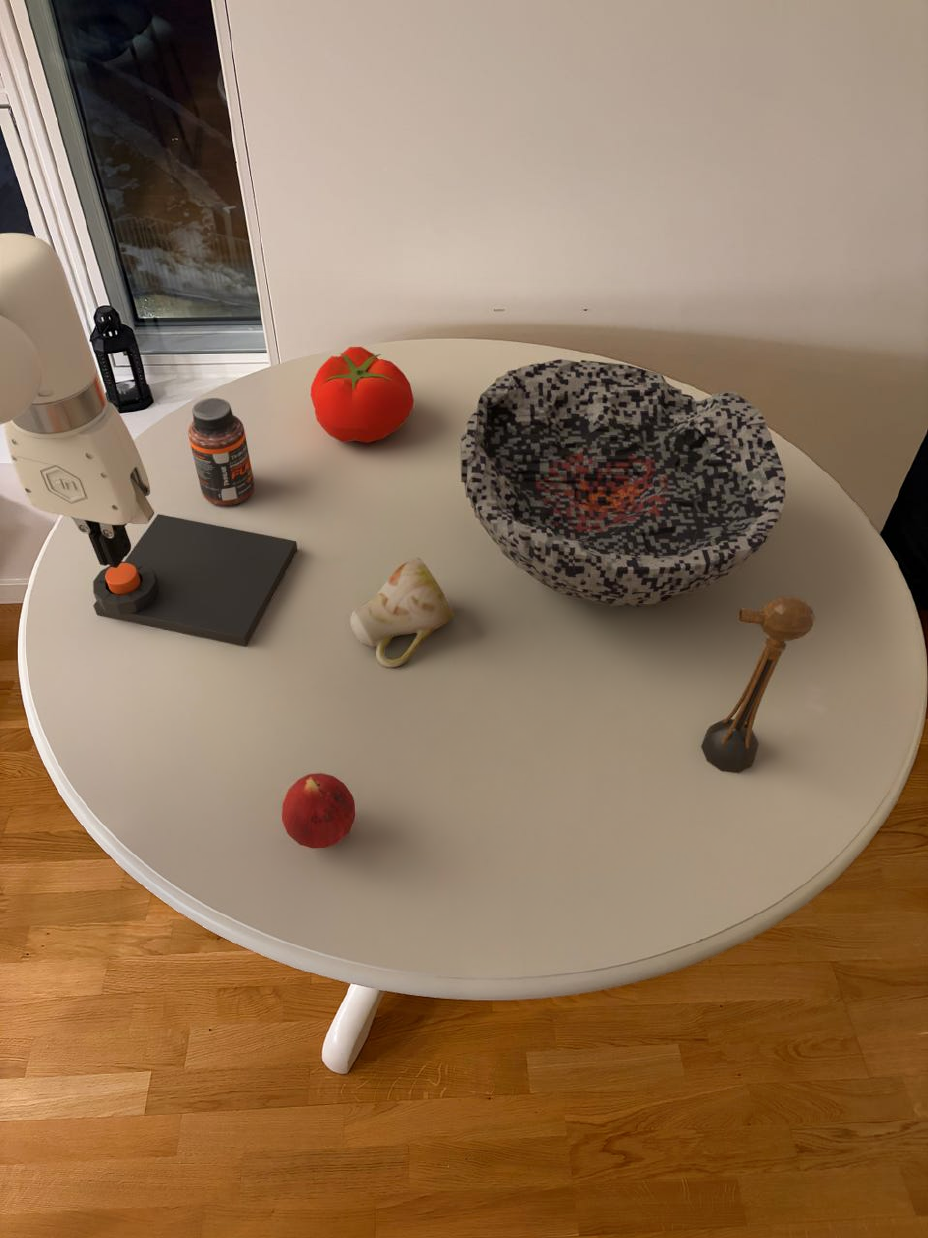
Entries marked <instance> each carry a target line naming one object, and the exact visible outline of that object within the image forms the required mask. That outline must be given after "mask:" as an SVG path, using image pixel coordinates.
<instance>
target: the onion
mask: <svg viewBox="0 0 928 1238" xmlns="http://www.w3.org/2000/svg"><path fill="white" fill-rule="evenodd" d="M281 806H282V807H281V822H282V824H283V827H284V829H285V832H286V834H287V835H288V836H289V837H290V838H291V839H292V840H293V841H294V842H296V843H297V844H298V845H300V846H303V847H305V848H309V849H311V850H313V849H314V850H316V849H317V850H318V849H327V848H330V847H332V846H334V845H337V844H338V843H340V842H341V841H342V840H343V839H345V837H347V836H348V835H349V834H350V832H351V831H352V827H353V825H354V824H355V820H356V814H357V813H356V802H355V798H354V796H353V794H352V792H351V791H350V790H349V788H348V787H347V785H346V784H345V783H344V782H343V781H342V780H340V779H338V778H337V777H336V776H334V775H332V774H328V773H322V772H318V773H317V772H316V773H309V774H307V775H305V776H303V777H301V778H299V779H297V780H296V781H295V782H294V783H293V784H292V785H291V786H290V787H289V788H288V790H287V792H286V794H285V797H284V799H283V801H282V805H281Z"/></svg>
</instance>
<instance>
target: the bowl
mask: <svg viewBox="0 0 928 1238" xmlns="http://www.w3.org/2000/svg"><path fill="white" fill-rule="evenodd" d="M477 402H478V403H477V408H476V411H475V412H473V413H472V414H471V415H470V417H469V419H468V421H467V423H466V426H465V427H466V428H465V433H461V434H460V480H461V481H460V482H461V483H464V490H465V492H464V493H465V498H469V500H470V507H471V508H472V509H473V513H474V517H475V518H476V519H478V520H479V524H480V525H481V526H482V527H483V528H484V529H485V531H486V533H487V534H488V536H489V537H490V538H491V540H492V542H494V543H495V544H496V545H497V546H498V548H499V550H500V551H501V553H502V554H503V555H504V556H505V557H507V559H509V560H510V561H511V562H512V563H513V564H514V565H515V566H516V567H517V568H518V569H521V570H523V571H525V572H526V573H527V574H528V575H529V576H531V578H533V579H535V580H536V581H538V582H540V583H541V584H542V585H544V586H547V587H549V588H550V589H552V590H554V592H558V593H561V595H565V596H570V597H571V596H572V597H576V598H580V599H585V600H588V601H594V602H598V603H602V604H603V603H604V604H609V605H610V607H615V606H629V607H630V606H631V607H641V605H656V604H657V603H659V602H666V601H668V600H671V599H676V598H678V597H681V596H682V595H686V594H691V593H696V592H697V591H698V590H702V589H704V588H705V587H708V586H710V585H711V584H712V583H714V582H717V581H718V580H719V579H722V578H723V577H725V576H728V575H729V574H730V573H731V572H733V571H735V570H736V569H739V567H740V566H741V565H743V563H744V562H745V561H746V560H747V559H748V558H749V557H750V556H752V555H753V554H755V553H756V552H757V551H759V549H760V548H761V547H762V546H763V545H764V544H765V543H766V542H767V539H768V537H769V535H770V534H771V532H772V530H773V528H774V526H775V524H776V523H778V522H779V521H780V520H781V518H782V517H781V516H782V512H783V509H784V507H785V505H784V499H786V498H787V496H786V489H785V485H786V478H787V477H786V476H787V475H786V474H785V470H784V466H783V464H782V461H781V458H780V456H779V453H778V449H777V446H776V445H775V443H774V442H773V438H772V434H771V431H770V430H769V429H768V427H767V426H766V420H765V418H764V416H763V414H762V412H761V410H760V409H758V408H757V407H755V406H753V404H752V403H751V402H749V400H748V399H745V398H743V397H741V396H740V394H739V393H738V392H737V391H733V390H732V391H726V392H723V393H714V392H712V395H711V396H709V397H706V398H704V399H702V400H696V399H695V398H694V397H693V395H689V394H685V393H683V391H682V389H681V388H677V387H674V386H673V385H672V384H670V383H669V382H667V381H666V379H665V377H664V375H663V374H662V373H660V372H655V371H652V370H648V369H644V368H640V367H636V366H633V365H629V364H622V363H613V362H605V361H596V360H595V361H594V360H585V359H581V360H580V361H575V360H569V359H563V358H562V359H561V358H560V359H554V360H549V361H545V362H543V363H532V364H529V365H524V366H519V368H517V369H511V370H508V371H506V373H504V374H503V375H502V376H499V377H496V379H495V380H494V382H493V383H492V384H490V386H489V387H487V389H486V390H485V391H483V392H482V393H481V394H480V396H479V399H478V401H477Z"/></svg>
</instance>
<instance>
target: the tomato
mask: <svg viewBox="0 0 928 1238" xmlns="http://www.w3.org/2000/svg"><path fill="white" fill-rule="evenodd" d="M381 355H382V353H379V354H375V353H374V352H371V351H369V350H367V349H366V348H364V347H362V346H349V347H348V348H347V349H346V350H345V351H343V352H340V355H339V356H338V355H335V356H334V355H333V356H332V355H331V356H330V357H329V358H328V359H327V360H326V361H325V362H323V364H322V365H321V366H320V367H319V368H318V370H317V372H316V374H315V377H314V379H313V381H312V383H311V386H310V398H311V401H312V405H313V408H314V414H315V417H316V422H318V424H319V425H320V427H321V429H323V430H324V431H325V433H326V434H328V435H329V436H330V437H332V438H334V439H336V440H337V441H340V442H342V443H347V442H352V441H357V442H360V443H361V442H362V443H372V442H375V441H380V440H383V438H385V437H388V435H391V434H392V433H394V432H396V431H397V430H398V429H399V428H400V427H401V426H402V425H404V423H406V421H407V419H408V418H409V416H410V415H411V413H412V411H413V408H414V401H415V400H414V399H415V398H414V395H413V390H412V386H411V382H410V381H409V379H408V378H407V377H406V374H405V373H404V372H402V370H401V369H400V367H398V366H397V365H396V364H395V363H393V362H392V361H391V360H387V359H383V358H378V357H379V356H381Z"/></svg>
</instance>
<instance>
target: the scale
mask: <svg viewBox="0 0 928 1238" xmlns="http://www.w3.org/2000/svg"><path fill="white" fill-rule="evenodd" d="M298 551H299V550H298V544H297V541H296V540H293V539H287V538H283V537H278V536H274V535H273V536H272V535H267V534H261V533H257V532H252V531H247V530H241V529H237V528H232V527H227V526H223V525H216V524H211V523H206V522H202V521H201V522H200V521H197V520H190V519H187V518H186V519H185V518H181V517H176V516H170V515H165V514H160V513H158V514H157V515H156V516H155V517H154V519H153V520H152V521H151V523H150V525H149V526H148V527H147V529H146V530H145V532H144V533H143V535H142V536H141V537H140V539H139V540H138V542H137V543H136V544H135V545H134V547H133V548H132V549H131V550H130V552H129V553H128V555H127V556H126V557H125V560H124V561H123V560H122V562H121V563H129V564H132V565H133V566H135V567H136V569H137V572H138V575H139V578H140V585H139V587H138V588H137V589H136V590H135V591H133V592H132V593H129V594H125V595H118V594H115V593H113V592H112V591H111V590H110V589H109V586H108V584H107V581H106V578H105V575H106V572H107V570H108V569H109V568H110V565H108V566H106V567H105V568H103V569H101V570H100V572H98V574H97V575H96V577H95V578H94V579H93V581H92V588H93V589H92V592H93V595H94V598H95V600H96V601H95V602H94V604H93V609H94V611H95V614H96V615H97V616H100V617H105V618H110V619H115V620H119V621H123V622H129V623H133V624H136V625H137V624H138V625H141V626H142V625H143V626H147V627H151V628H157V629H161V630H166V631H170V632H174V633H178V634H184V635H187V636H188V635H190V636H193V637H198V638H203V639H207V640H212V641H217V642H221V643H225V644H230V645H235V646H239V647H245V648H247V646H248V644H249V643H250V641H251V639H252V637H253V636H254V634H255V631H256V630H257V628H258V626H259V624H260V622H261V621H262V618H263V616H264V615H265V613H266V611H267V610H268V607H269V605H270V603H271V602H272V600H273V598H274V596H275V594H276V592H277V590H278V589H279V586H280V584H281V582H282V581H283V579H284V577H285V575H286V573H287V572H288V569H289V567H290V566H291V564H292V562H293V560H294V558H295V556H296V555H297V553H298Z"/></svg>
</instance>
